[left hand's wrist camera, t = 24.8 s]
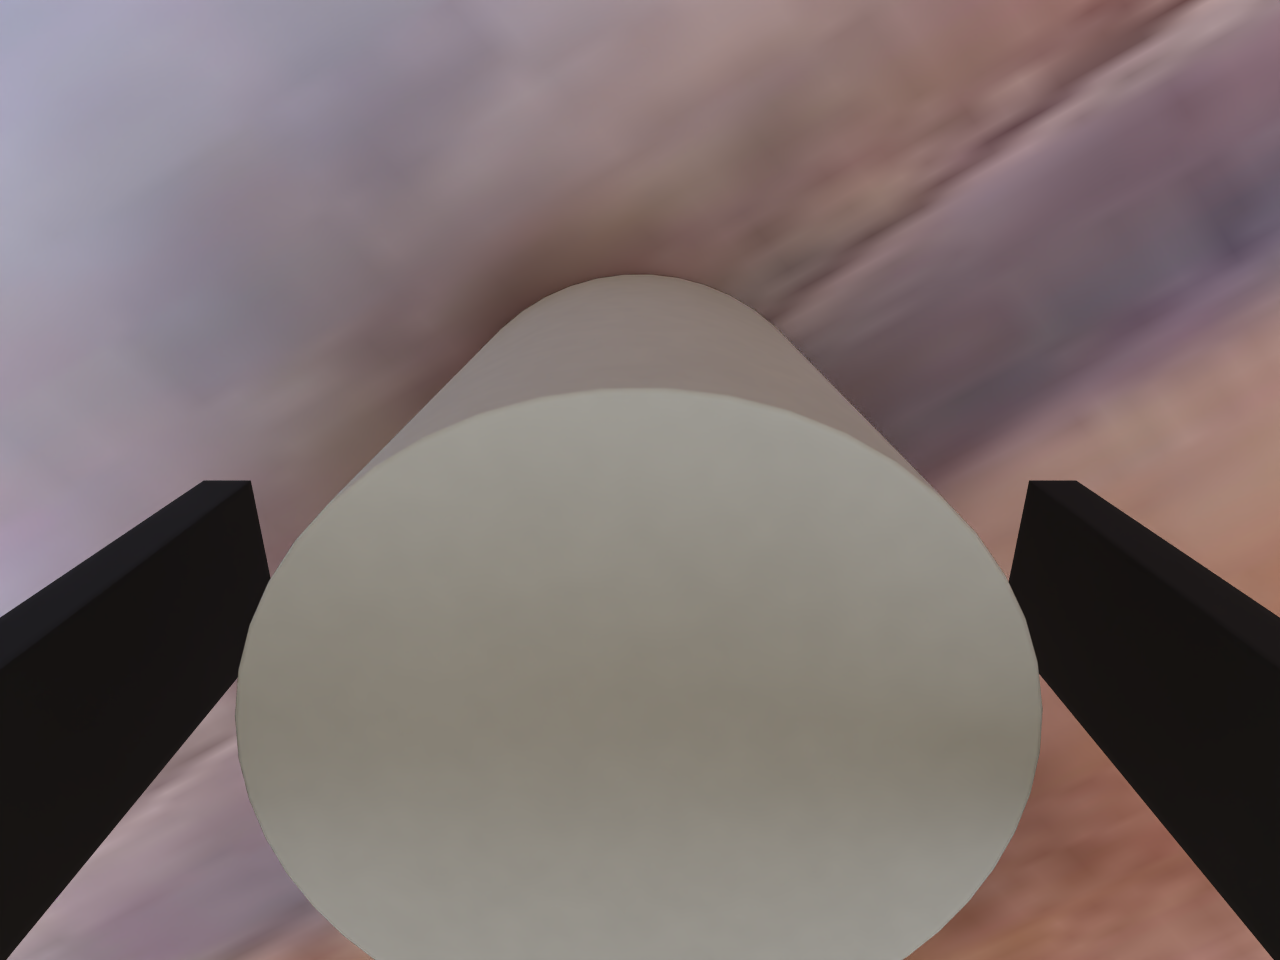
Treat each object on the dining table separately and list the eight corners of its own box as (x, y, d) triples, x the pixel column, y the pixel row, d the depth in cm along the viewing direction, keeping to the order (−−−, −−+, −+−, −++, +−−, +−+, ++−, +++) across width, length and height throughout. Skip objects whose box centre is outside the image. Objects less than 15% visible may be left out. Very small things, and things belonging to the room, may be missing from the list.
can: (907, 485, 16) (1193, 801, 8) (626, 695, 18) (614, 1127, 10) (656, 180, 14) (681, 167, 6) (366, 457, 16) (66, 752, 8)
